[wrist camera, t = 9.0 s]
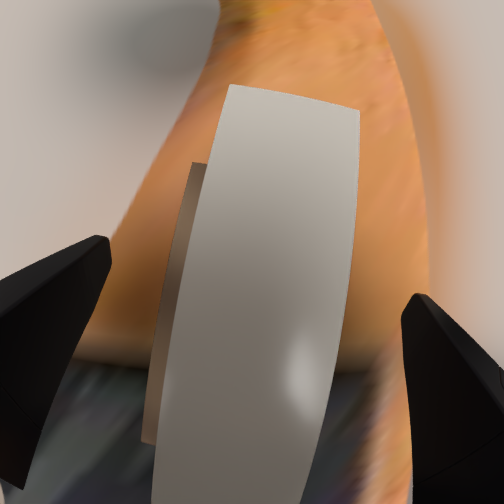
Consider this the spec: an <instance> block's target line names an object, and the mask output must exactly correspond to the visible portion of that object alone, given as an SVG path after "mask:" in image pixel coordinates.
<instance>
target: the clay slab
mask: <svg viewBox="0 0 504 504" xmlns="http://www.w3.org/2000/svg"><path fill="white" fill-rule="evenodd" d="M359 142H360V111H358V110H355V109H351V108H348V107H344V106H340V105H336V104H332V103H328V102H324V101H320V100H316V99H312V98H307V97H302V96H298V95H293V94H288V93H283V92H277V91H272V90H266V89H260V88H254V87H247V86H240V85H233V84H230V86H229V89H228V92H227V96H226V99H225V103H224V106H223V110H222V113H221V117H220V120H219V124H218V127H217V131H216V135H215V138H214V142H213V146H212V149H211V153H210V157H209V161H208V165H207V169H206V173H205V177H204V181H203V185H202V189H201V193H200V197H199V201H198V205H197V210H196V214H195V218H194V223H193V227H192V232H191V236H190V241H189V245H188V250H187V255H186V260H185V264H184V269H183V274H182V279H181V284H180V290H179V295H178V300H177V306H176V311H175V317H174V322H173V328H172V334H171V340H170V346H169V352H168V358H167V365H166V372H165V378H164V385H163V392H162V400H161V408H160V415H159V424H158V432H157V441H156V451H155V461H154V472H153V484H152V497H151V504H299V503H300V500H301V497H302V494H303V491H304V488H305V485H306V481H307V478H308V475H309V471H310V468H311V464H312V461H313V457H314V454H315V450H316V446H317V443H318V439H319V435H320V431H321V427H322V423H323V419H324V415H325V411H326V406H327V402H328V398H329V393H330V388H331V384H332V379H333V374H334V369H335V364H336V359H337V353H338V348H339V342H340V337H341V331H342V325H343V319H344V312H345V305H346V299H347V291H348V284H349V276H350V268H351V259H352V250H353V240H354V230H355V218H356V205H357V190H358V171H359Z"/></svg>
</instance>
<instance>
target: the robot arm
mask: <svg viewBox="0 0 504 504" xmlns="http://www.w3.org/2000/svg"><path fill="white" fill-rule="evenodd" d="M111 265H112V258H111V250H110V242H109V239H108V238H107V237H105V236H100V235H94V236H91V237H89V238H87V239H85V240H82V241H80V242H78V243H76V244H74V245H71V246H69V247H67V248H65V249H63V250H60V251H58V252H56V253H54V254H52V255H50V256H48V257H46V258H43V259H41V260H39V261H37V262H35V263H33V264H31V265H29V266H27V267H25V268H23V269H21V270H19V271H17V272H15V273H13V274H11V275H9V276H7V277H5V278H4V279H2V280H0V478H1V479H2V480H4V481H6V482H8V483H10V484H11V485H13V486H15V487H17V488H19V489H21V490H23V489H24V486H25V483H26V479H27V476H28V472H29V469H30V466H31V462H32V459H33V456H34V453H35V450H36V447H37V444H38V441H39V438H40V435H41V432H42V431H41V430H42V429H43V426H44V423H45V420H46V418H47V415H48V412H49V410H50V407H51V405H52V402H53V399H54V397H55V394H56V392H57V390H58V387H59V385H60V382H61V380H62V378H63V375H64V373H65V371H66V368H67V366H68V364H69V362H70V359H71V357H72V355H73V353H74V351H75V348H76V346H77V344H78V342H79V340H80V338H81V336H82V334H83V331H84V329H85V327H86V325H87V323H88V321H89V319H90V317H91V315H92V313H93V311H94V309H95V306H96V304H97V301H98V299H99V296H100V293H101V291H102V288H103V286H104V283H105V281H106V278H107V276H108V274H109V271H110V269H111ZM401 328H402V343H403V361H404V370H405V378H406V386H407V394H408V403H409V414H410V426H411V441H412V464H413V502H412V504H504V370H503V369H502V368H501V367H499V365H498V364H497V363H496V362H495V361H494V360H493V359H492V358H491V357H490V356H489V355H488V354H487V353H486V351H485V350H484V349H483V348H482V347H481V346H480V345H479V344H478V343H477V342H476V341H475V340H474V339H473V338H472V337H471V336H470V335H469V334H467V332H466V331H465V330H464V329H462V327H460V326H459V325H458V324H457V323H456V322H455V321H454V320H453V319H452V318H451V317H450V316H449V315H448V314H447V313H446V312H445V311H444V310H443V309H441V307H439V306H438V305H437V304H436V303H435V302H434V301H433V300H432V299H431V298H430V297H429V296H427V295H426V294H420V293H415V294H414V295H413V296H412V297H411V299H410V300H409V302H408V304H407V306H406V307H405V309H404V311H403V312H402V315H401Z"/></svg>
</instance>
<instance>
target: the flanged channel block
mask: <svg viewBox="0 0 504 504" xmlns="http://www.w3.org/2000/svg"><path fill="white" fill-rule="evenodd" d="M207 165H208V164H202V163H195V162H192V166H191V169H190V173H189V177H188V181H187V184H186V188H185V192H184V196H183V200H182V204H181V208H180V212H179V216H178V220H177V225H176V229H175V233H174V238H173V242H172V246H171V251H170V256H169V260H168V265H167V270H166V275H165V280H164V285H163V290H162V295H161V300H160V306H159V311H158V317H157V323H156V328H155V334H154V341H153V347H152V353H151V360H150V367H149V374H148V381H147V389H146V397H145V406H144V414H143V424H142V434H141V442H144V443H147V444H151V445H155V446H156V441H157V432H158V424H159V415H160V408H161V400H162V392H163V385H164V378H165V372H166V365H167V358H168V352H169V346H170V340H171V334H172V328H173V322H174V317H175V311H176V306H177V300H178V295H179V290H180V284H181V279H182V274H183V269H184V264H185V260H186V255H187V250H188V245H189V241H190V236H191V232H192V227H193V223H194V218H195V214H196V210H197V205H198V201H199V197H200V193H201V189H202V185H203V181H204V177H205V173H206V169H207Z"/></svg>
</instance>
